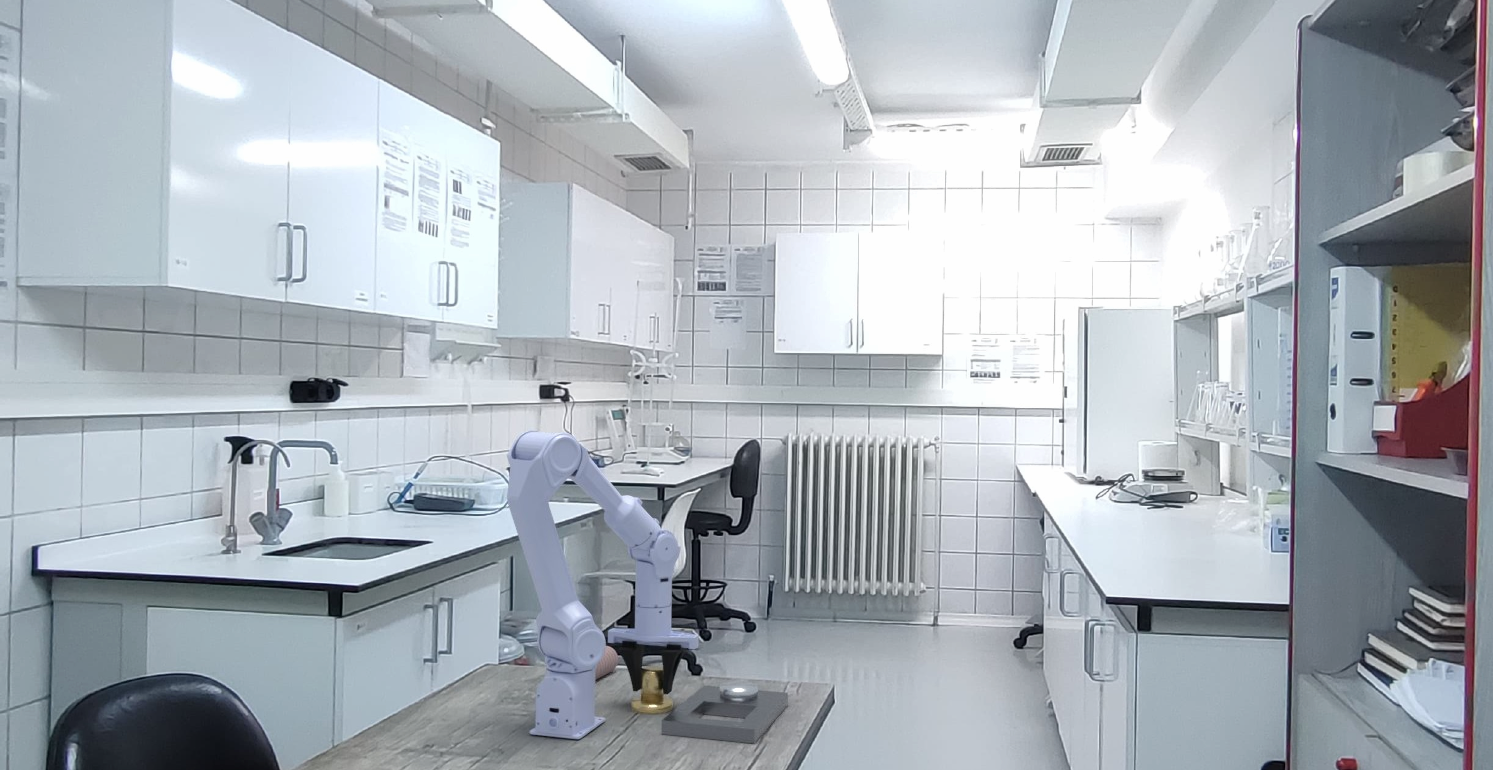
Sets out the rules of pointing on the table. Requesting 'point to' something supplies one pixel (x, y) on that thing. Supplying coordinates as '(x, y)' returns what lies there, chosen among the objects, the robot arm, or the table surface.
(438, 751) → the table surface
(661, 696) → the gold flanged round piece
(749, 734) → the carrier plate
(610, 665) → the coil
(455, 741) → the table surface
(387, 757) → the table surface
